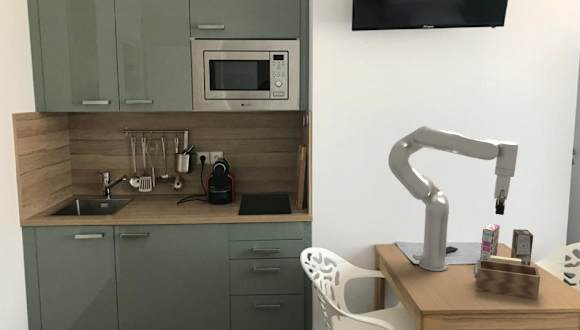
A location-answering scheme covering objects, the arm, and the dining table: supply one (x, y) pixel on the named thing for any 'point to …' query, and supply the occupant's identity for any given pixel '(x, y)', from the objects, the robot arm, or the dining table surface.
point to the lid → (501, 259)
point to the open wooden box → (508, 279)
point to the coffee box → (522, 246)
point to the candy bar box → (489, 241)
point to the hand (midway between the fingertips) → (499, 211)
